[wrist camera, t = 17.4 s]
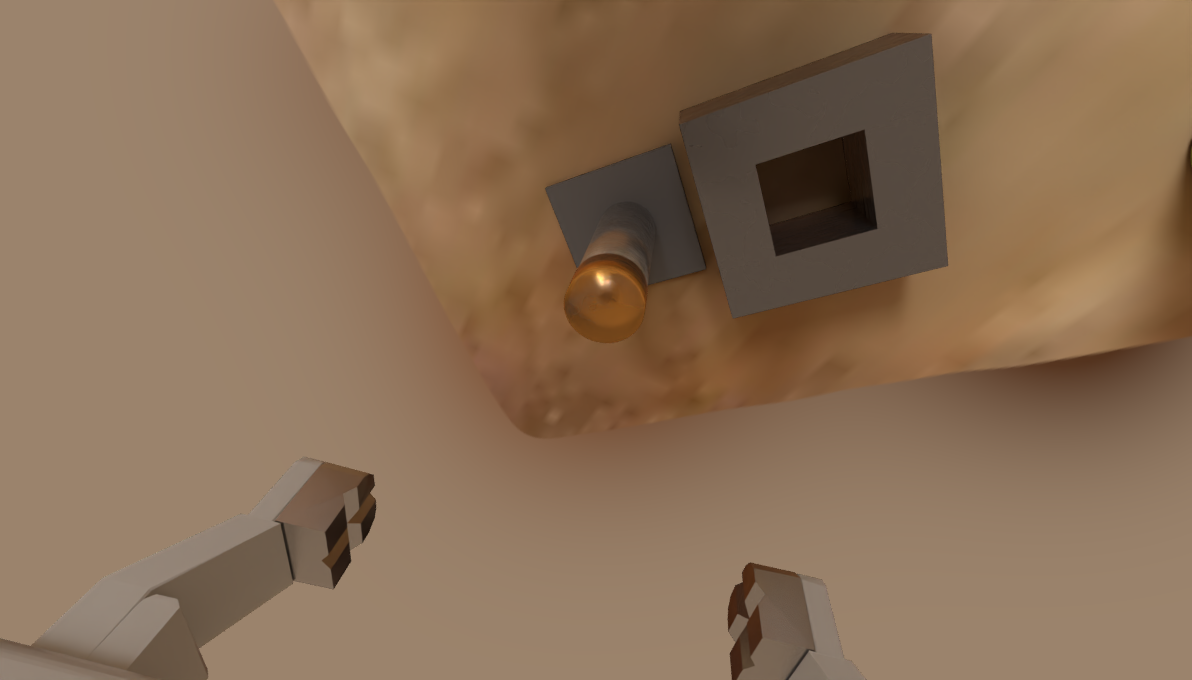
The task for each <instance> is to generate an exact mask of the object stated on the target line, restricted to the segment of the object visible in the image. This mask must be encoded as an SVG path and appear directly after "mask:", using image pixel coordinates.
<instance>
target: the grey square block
mask: <svg viewBox="0 0 1192 680" xmlns="http://www.w3.org/2000/svg"><path fill="white" fill-rule="evenodd" d="M679 126H680V130H681V133H682V137H683V141H684V144H685V148H686V151H687V155H688V159H689V162H690V166H691V170H692V173H693V177H694V180H695V184H696V188H697V191H698V195H699V198H700V202H701V206H702V209H703V213H704V217H705V220H706V224H707V227H708V231H709V235H710V238H711V242H712V246H713V249H714V253H715V256H716V260H717V264H718V267H719V271H720V274H721V278H722V282H723V285H724V289H725V293H726V296H727V300H728V303H729V307H730V311H731V314H732V318H737V317H741V316H745V315H749V314H753V313H758V312H762V311H766V310H770V309H774V308H778V307H782V306H786V305H790V304H794V303H798V302H802V301H807V300H811V299H815V298H819V297H823V296H827V295H831V294H835V293H839V292H843V291H847V290H852V289H856V288H860V287H864V286H868V285H872V284H876V283H880V282H884V281H888V280H892V279H896V278H901V277H905V276H909V275H913V274H917V273H921V272H925V271H929V270H933V269H937V268H941V267H946V266H948V257H947V244H946V230H945V216H944V202H943V188H942V174H941V160H940V147H939V133H938V119H937V105H936V91H935V77H934V63H933V50H932V36H931V34H922V33H891V34H889V35H886V36H883V37H880V38H878V39H875V40H872V41H870V42H867V43H864V44H861V45H859V46H856V47H853V48H851V49H848V50H845V51H842V52H840V53H837V54H834V55H832V56H829V57H826V58H823V59H821V60H818V61H815V62H812V63H810V64H807V65H804V66H802V67H799V68H796V69H793V70H791V71H788V72H785V73H783V74H780V75H777V76H774V77H772V78H769V79H766V80H764V81H761V82H758V83H755V84H753V85H750V86H747V87H745V88H742V89H739V90H736V91H734V92H731V93H728V94H726V95H723V96H720V97H717V98H715V99H712V100H709V101H706V102H704V103H701V104H698V105H696V106H693V107H690V108H687V109H685V110H682V111H680V119H679ZM839 137H842V141H843V148H844V155H845V162H846V168H847V175H848V182H849V188H850V195H851V202H849V203H845V204H842V205H838V206H835V207H831V208H828V209H824V210H821V211H817V212H814V213H811V214H807V215H804V216H800V217H797V218H793V219H790V220H786V221H783V222H779V223H776V224H773V225H769V223H768V219H767V214H766V210H765V205H764V201H763V196H762V192H761V187H760V183H759V178H758V174H757V169H756V164H759V163H762V162H765V161H768V160H771V159H775V158H778V157H781V156H784V155H787V154H790V153H793V152H796V151H799V150H802V149H805V148H809V147H812V146H815V145H818V144H821V143H824V142H827V141H830V140H833V139H836V138H839Z"/></svg>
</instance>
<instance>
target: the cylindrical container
mask: <svg viewBox="0 0 1192 680" xmlns="http://www.w3.org/2000/svg"><path fill="white" fill-rule="evenodd" d="M655 234H656V226H655V222H654V219H653V217H652V215H651V214H650V212H649V211H648V210H647V209H646V208H644V207H643V206H641V205H639V204H637V203H634V202H620V203H616V204H614V205H612V206H611V207H609V208H608V209H607V210H606V211H605V212H604V214H603V215H602V217H601V219H600V221H599V223H598V226H597V228H596V230H595V232H594V235H593V237H592V239H591V241H590V243H589V246H588V248H587V250H586V252H585V254H584V257H583V259H582V261H581V263H580V265H579V267H578V268H577V270H576V272H575V274H574V276H573V278H572V280H571V283H570V285H569V287H568V289H567V292H566V294H565V298H564V310H565V314H566V317H567V319H568V321H569V323H570V324H571V326H572V327H573V328H574V329H575V330H576V331H577V332H578V333H579V334H581V335H582V336H584V337H585V338H587V339H590V340H592V341H595V342H600V343H614V342H619V341H622V340H624V339H626V338H628V337H630V336H631V335H632V334H634V333H635V332H636V331H637V329H638V328H639V327H640V325H641V323H642V321H643V318H644V314H645V307H646V300H647V294H648V280H649V273H650V267H651V260H652V254H653V247H654V240H655Z"/></svg>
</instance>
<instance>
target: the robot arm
mask: <svg viewBox="0 0 1192 680" xmlns="http://www.w3.org/2000/svg"><path fill="white" fill-rule="evenodd" d="M374 486H375V482H374V475H372V474H369V473H366V472H362V471H358V470H354V469H350V468H346V467H343V466H339V465H335V464H332V463H328V462H324V461H320V460H316V459H312V458H307V457H302V458H301V459H299V460H297V461H296V462H295V463H294V464H293V465H292V466H291V467H290V468H289V470H288V471H287V472H286V473H285V474H284V475H283V476H282V477H281V478H280V480H279V481H278V482H277V483H276V484H275V485H274V487H272V488H271V490H270V491H269V492H268V493H267V494H266V495H265V496H264V497H263V499H262V500H261V501H260V502H259V503H258V504H257V505H256V506H255V508H254V509H253V510H252V511H251V512H250V513H249V514H248V515H245V514H239V515H237V516H235V517H233V518H230V519H228V520H226V521H224V522H222V523H220V524H217V525H216V526H213V527H211V528H209V529H207V530H205V531H202V532H200V533H198V534H196V535H194V536H192V537H189V538H187V539H185V540H183V541H181V542H179V543H176V544H174V545H172V546H170V547H168V548H166V549H164V550H161V551H159V552H157V553H155V554H153V555H151V556H149V557H147V558H144V559H142V560H140V561H138V562H136V563H133V564H131V565H129V566H127V567H125V568H123V569H120V570H118V571H116V572H114V573H112V574H110V575H108V576H105V577H103V578H102V579H101V580H100V581H99V582H98V583H96V584H95V585H94V586H93V587H92V588H91V589H90V590H89V591H88V592H87V593H86V594H85V595H84V596H83V597H82V598H81V599H80V600H79V601H78V602H77V603H75V605H73V606H72V607H71V608H70V609H69V610H68V611H67V612H66V613H65V614H64V615H63V616H62V617H61V618H60V619H59V620H57V622H55V623H54V625H52V626H51V627H50V628H49V629H48V630H47V631H46V632H45V633H44V634H43V635H42V636H41V637H40V638H39V639H38V640H37V641H35V643H33V644H32V645H31V646H29V645H25V644H21V643H17V642H13V641H9V640H5V639H1V638H0V680H207V679H208V670H207V667H206V665H205V662H204V660H203V658H202V655H201V653H200V651H199V648H200V647H202V646H203V645H205V644H206V643H208V642H209V641H210V640H212V639H213V638H215V637H216V636H218V635H219V634H221V633H222V632H223V631H225V630H226V629H228V628H229V627H231V626H232V625H234V624H235V623H236V622H238V621H239V620H241V619H242V618H243V617H245V616H247V615H248V614H249V613H251V612H252V611H254V610H255V609H257V608H258V607H260V606H261V605H263V604H264V603H265V602H267V601H268V600H270V599H271V598H273V597H274V596H276V595H277V594H278V593H280V592H281V591H283V590H284V589H286V588H287V587H288V586H290V585H291V584H293V581H297V582H302V583H306V584H311V585H315V586H320V587H325V588H329V589H334V588H335V586H336V585H337V583H338V582H339V580H340V578H341V577H342V575H343V574H344V572H345V570H346V569H347V567H348V565H349V564H350V562H351V555H350V550H351V549H353V548H355V547H357V546H358V545H360V544H362V543H363V541H364V540H365V538H366V536H367V535H368V533H369V531H370V529H371V526H372V523H373V521H374V518H375V513H376V499H375V498H374V497H373V496H372V495H371V494H370V492H371V490H372V489H373V488H374ZM742 578H743V582H742V583H740V584H737V585H735V587H734V590H733V592H732V594H731V597H730V602H729V607H728V632H729V633H730V635H731V636H732V638H733V639H734V641H735V642H736V643H735V645H734V647H733V648H732V650H731V652H730V662H731V674H732V680H866V678H865V677H864V676H863V675H862V674H861V672H860V671H859V669H858V668H857V667H856V666H855V664H854V663H853V662H852V661H850V660H846V659H844V655H843V651H842V648H841V644H840V640H839V636H838V632H837V628H836V624H835V620H834V616H833V612H832V609H831V604H830V600H829V597H828V593H827V589H826V585H825V583H824V582H823V580H822V579H818V578H814V577H810V576H805V575H801V574H796V573H795V572H791V571H786V570H781V569H777V568H772V567H768V566H763V565H759V564H754V563H748V564H747V565H746V566H745V568H744V570H743V572H742Z"/></svg>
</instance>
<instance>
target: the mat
mask: <svg viewBox="0 0 1192 680" xmlns="http://www.w3.org/2000/svg"><path fill="white" fill-rule="evenodd" d="M545 190H546V192H547V195H548V197H549V200H550V202H551V205H552V207H553V210H554V212H555V214H556V217H557V219H558V222H559V224H560V227H561V229H562V232H563V234H564V237H565V239H566V242H567V244H568V247H569V249H570V252H571V254H572V257H573V259H574V262H575V264H576V267H577V268H578V267H579V265H580V263H581V261H582V259H583V257H584V254H585V252H586V250H587V248H588V246H589V243H590V241H591V239H592V237H593V235H594V232H595V230H596V228H597V226H598V223H599V221H600V219H601V217H602V215H603V214H604V212H605V211H606V210H607V209H608V208H609V207H611V206H612V205H614V204H616V203H620V202H634V203H637V204H639V205H641V206H643V207H644V208H646V209H647V210H648V211H649V212H650V214H651V215H652V217H653V219H654V222H655V226H656V234H655V240H654V247H653V254H652V260H651V267H650V273H649V280H648V285H650V284H654V283H658V282H661V281H665V280H668V279H672V278H676V277H679V276H683V275H687V274H690V273H694V272H698V271H701V270H705V269H706V265H705V262H704V258H703V255H702V251H701V248H700V244H699V241H698V237H697V234H696V230H695V227H694V223H693V220H692V217H691V213H690V210H689V206H688V203H687V199H686V196H685V192H684V189H683V185H682V182H681V178H680V175H679V171H678V168H677V164H676V161H675V157H674V154H673V150H672V147H671V144H668V145H665V146H662V147H660V148H657V149H654V150H651V151H648V152H645V153H642V154H640V155H637V156H634V157H631V158H628V159H625V160H623V161H620V162H617V163H614V164H611V165H608V166H606V167H603V168H600V169H597V170H594V171H591V172H588V173H586V174H583V175H580V176H577V177H574V178H571V179H569V180H566V181H563V182H560V183H557V184H554V185H551V186H549V187H546V188H545Z"/></svg>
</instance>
